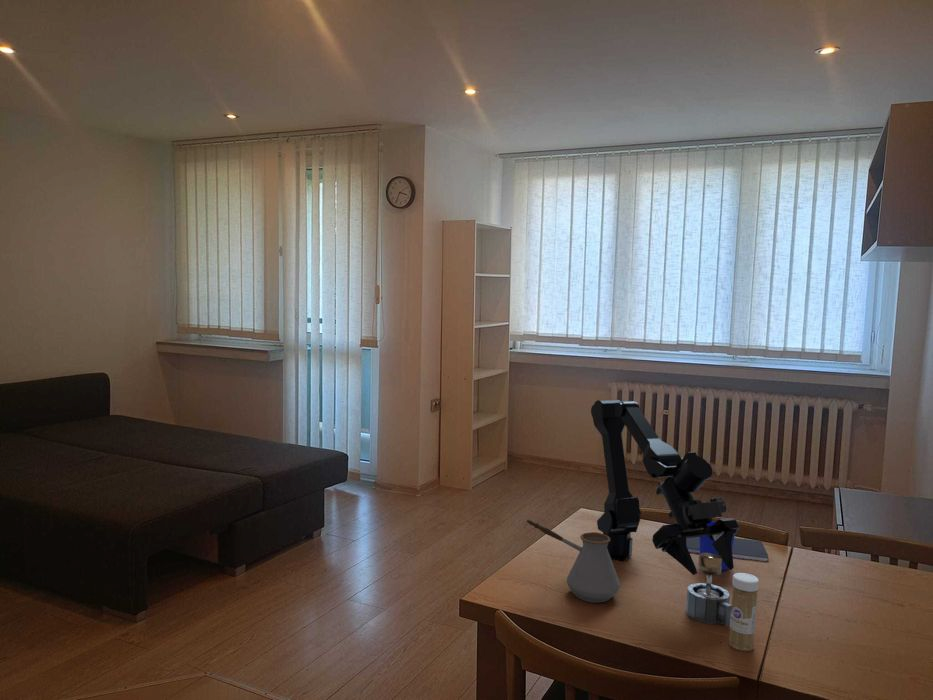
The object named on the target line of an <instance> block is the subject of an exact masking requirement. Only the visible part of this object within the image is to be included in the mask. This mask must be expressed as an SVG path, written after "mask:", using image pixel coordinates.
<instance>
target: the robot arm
mask: <svg viewBox="0 0 933 700" xmlns="http://www.w3.org/2000/svg"><path fill="white" fill-rule="evenodd" d="M640 409H641V408H640V405H639V403H638V402H637V401H633V400H626V401H625V400H623V401H622V400H620V399H599V400H598V399H597V400H596V401H594V403H593V405H592V406H591V409H590V413H591V417H592V420H593V421H592V422H593V425H594V427H595V429H596V430H597V431H598V433H600V435H601V440H602V446H603V455H604V456H603V457H604V462H605V471H606V477H607V487H608V494H607V496H606V499H605V502H604V504H603V507H604V512H603V514H602V515H601V516H599V518H597V520H596V525H597V531H600V533H601V532H602V534H604V535H607V536H609V537H610V542H609V543H608V545H607V549H608V552H609V555H610V558H611V559H614V560H618V561H623V562H625V561H626V560H627V559H629V557H630V556H631V555H632V554H633V537H631V535H632V533H637V531H638V527H639V525H640V522H641V518H642V517H641V515H642V512H641V508H640V499H639V498H638V497H637V496H636V497H635V496H633V494H632V493H631V492H630V487H629V481H628V473H627V472H628V471H627V465H626V458H625V457H626V456H625V450H624V444H623V443H624V442H623V431H624V428H625V427H626V429H627V430H628V431H629V433H630V435H631V436H632V438H633V439H634V441H635V442H636V444H637V446H638V447H639V448H640V450H641V452H642V461H641V462H642V463H643V466H644V467H645V470H646V472H647V473H648V475H649V476H650V478H653V479H661V478H662V479H663V478H665V480H663V481H660V482H658V485H657V488H656V490H655V493H656V495H657V496H658V495H663V496H664V497H663V498H664V499H665V501H666V503H667V506H668V508H669V510H670V511H669V513H668V518H669V519H674V521H675V523H671V524H670V523H669V524H663V525H662V526H661V527H660V528H659V529H657V530H656V531H655V532H654V534H653V535H652V539H651V540H652V544H653V545H654V548H655V549H656V550H658V549H660V550H661V551H662V553H663V552H664V553H667V554H668V555H669V556H670V557H672V558H673V559H674V560H676V561H677V562H678V563H679V564H680V565H681V566H682V567H683V568H685V569H686V570H687V571H688V572H689V573H690V574H691V575H692V576H696V575H697V574H698V571H697V568H696V565H695V563H694V560H693V558H692V556H691V554H690V553H691V552H689V551H688V549H687V545H686V538H694V537H702V536H709V538H710V539H711V540H712V541H714V542H713V543H712V546H713V547H714V549H715V550H716V551H717V553H718V554H719V556H721V557H722V560H723V562H724V563H725V565H726V566H727V567H728V569H727V570H729V571H732V570H733V569H734V568H735V565H734V557H733V556H732V538H733V536H734V537H735V535H736V534H737V532H738V531H739V530H741V527H740V525H739V523H738V522H737V520H736V519H735V518H733V517H727V518H722V517H723V514H724V513H726V512H727V509H728V508H727V505H726V502H725V501H724V499H723V498H722V497H721V496H719V497H712V498H710V499H709V500H710V501H706V502H702V500H700V499H695V496H694V495H693V493H694V492H697V491H698V490H699V489H700V488H701V487H702V486H703V485H704V484H705V483H706V482H707V481H708V480H709V479H710V478H711V477H712V475H713V468H712V466H711V464H710V463H709V462H708V461H707V460H706V459H704V457H701V456H699V455H697V453H696V451H687V452H686V453H685V455H684V456H683V457H681V455H680V453H678V451H677V450H676V449H675V448H674V447H672V446H671V445H670V444H667V442H665V441H662V439H661V438H660V437H659V436H658V434H657V433H656V431H655V430H654V428H653V427H652V425H651V424H650V422H649V421H648V419H647V418H646V417H645V415H644V414H643V412H642V411H641V410H640ZM714 518H719V519H717V520H716V521H713V519H714ZM712 521H713V522H715V523H714V524H713V525H712V526H707V524H708V523H710V522H712Z"/></svg>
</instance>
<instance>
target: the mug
mask: <svg viewBox="0 0 933 700" xmlns="http://www.w3.org/2000/svg"><path fill="white" fill-rule="evenodd" d="M715 522H716V521H712V522H710V523H708V524H707V526H712V525H713V524H714V523H715ZM734 538H735V535H734V536H733V538H732V549H733V542H734ZM713 542H714V541H712V540H711V539H710V538H709V536H702V537H700V553H699V554H701V553H713V554H717V555H719V554H718V553H717V551H716V550H715V549H714V547H713V546H712V543H713ZM725 570H729V569H728V567H727V566H726V565H725V563H724V562H723V560H722V566H721V571H725Z"/></svg>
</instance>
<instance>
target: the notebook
mask: <svg viewBox="0 0 933 700" xmlns="http://www.w3.org/2000/svg"><path fill="white" fill-rule="evenodd" d="M686 545H687V549H688V551H689V553H694V554H700V537H694V538H686ZM732 556H733V558H737V559H743V558H744V560H751V559H752V561H761V562H767V561H768V559H769V554H768V552H767V550H766V548H765V546H764V544H763V541H762V540H758V539H757V540H756V539H747V538H739V537H734V542H733V549H732Z"/></svg>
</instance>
